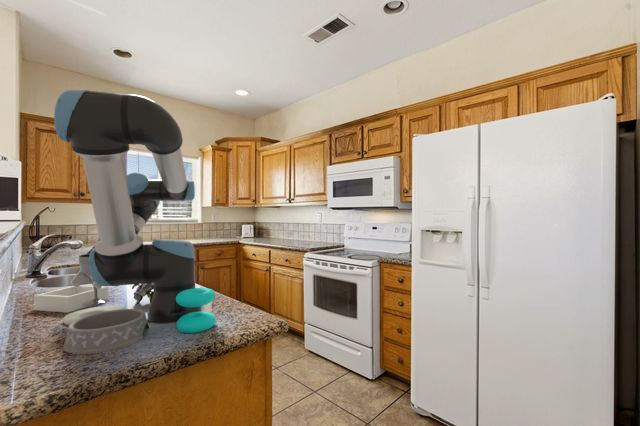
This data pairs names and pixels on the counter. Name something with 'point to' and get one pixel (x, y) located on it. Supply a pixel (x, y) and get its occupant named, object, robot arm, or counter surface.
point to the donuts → (195, 319)
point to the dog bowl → (105, 331)
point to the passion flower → (143, 291)
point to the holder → (67, 298)
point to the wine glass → (86, 272)
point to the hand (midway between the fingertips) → (84, 285)
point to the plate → (87, 313)
